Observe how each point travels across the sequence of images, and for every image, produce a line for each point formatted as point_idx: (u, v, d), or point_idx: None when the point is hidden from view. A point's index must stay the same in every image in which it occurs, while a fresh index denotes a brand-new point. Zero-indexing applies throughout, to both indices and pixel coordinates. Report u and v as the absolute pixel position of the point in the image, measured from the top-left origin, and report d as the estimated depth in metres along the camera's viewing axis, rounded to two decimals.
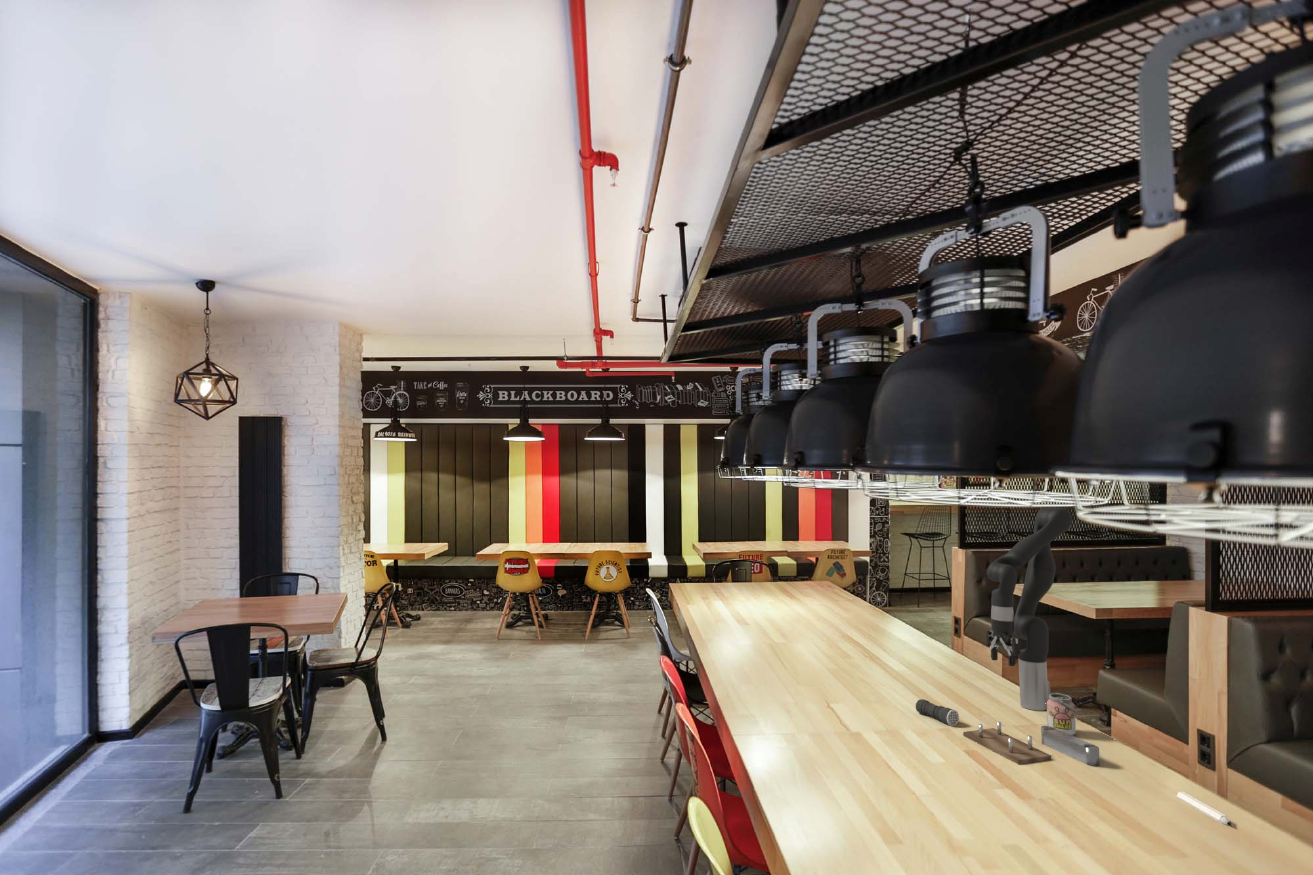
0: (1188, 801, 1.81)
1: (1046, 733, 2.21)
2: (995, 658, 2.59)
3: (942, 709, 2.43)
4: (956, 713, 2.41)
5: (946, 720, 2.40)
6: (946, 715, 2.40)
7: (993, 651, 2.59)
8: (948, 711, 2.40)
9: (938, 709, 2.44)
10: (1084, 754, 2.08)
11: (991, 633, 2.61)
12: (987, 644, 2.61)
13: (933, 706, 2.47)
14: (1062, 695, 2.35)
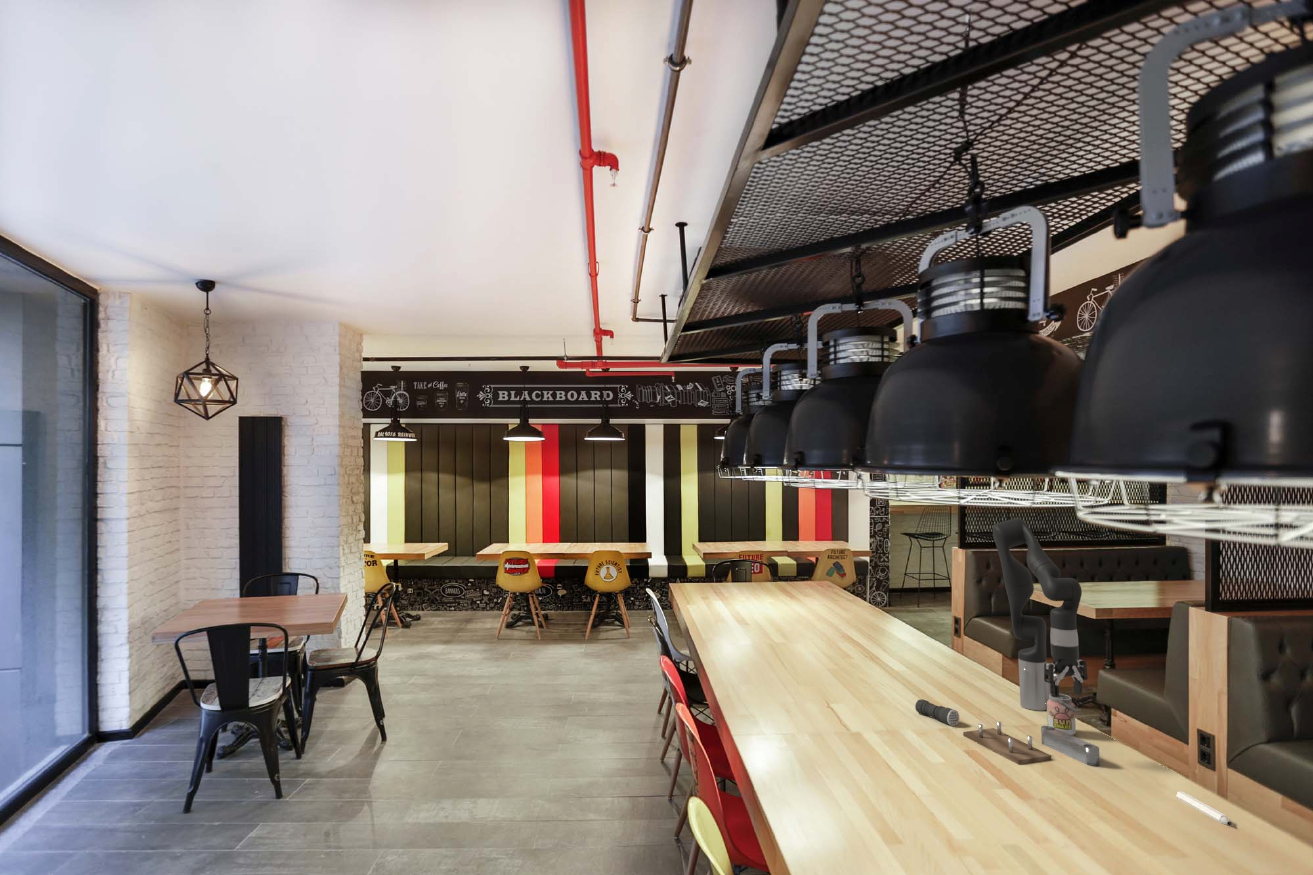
0: (1188, 800, 1.81)
1: (1046, 733, 2.21)
2: None
3: (942, 709, 2.43)
4: (956, 713, 2.41)
5: (947, 720, 2.40)
6: (947, 715, 2.40)
7: None
8: (948, 711, 2.40)
9: (938, 709, 2.44)
10: (1084, 754, 2.08)
11: None
12: (1052, 681, 2.14)
13: (933, 706, 2.47)
14: (1062, 695, 2.35)
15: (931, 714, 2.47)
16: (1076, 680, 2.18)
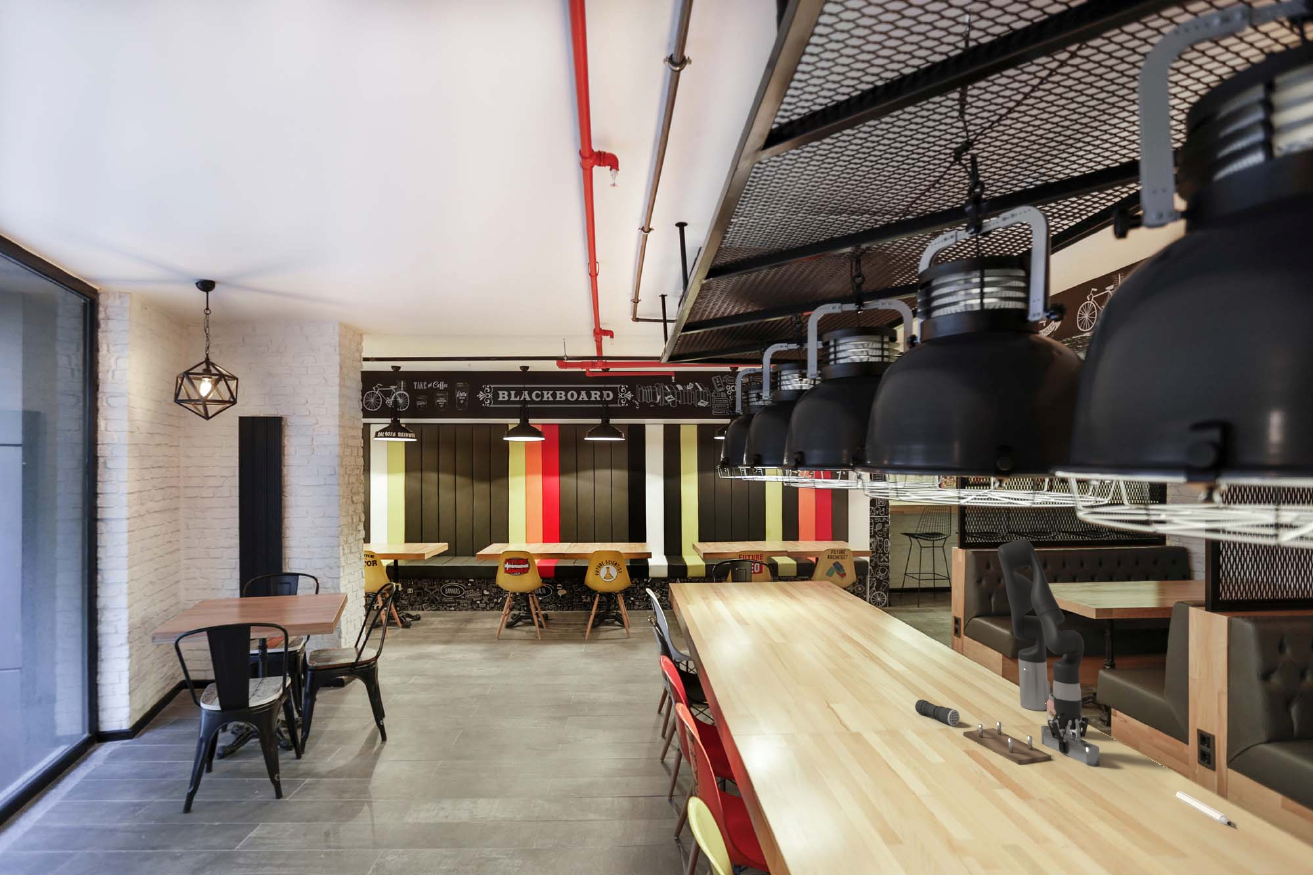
0: (1187, 800, 1.81)
1: (1046, 733, 2.21)
2: None
3: (943, 709, 2.43)
4: (957, 713, 2.41)
5: (947, 720, 2.40)
6: (947, 715, 2.40)
7: None
8: (949, 711, 2.40)
9: (939, 709, 2.44)
10: (1084, 753, 2.08)
11: (1056, 722, 2.14)
12: (1060, 737, 2.13)
13: (933, 706, 2.47)
14: None
15: (931, 714, 2.46)
16: None
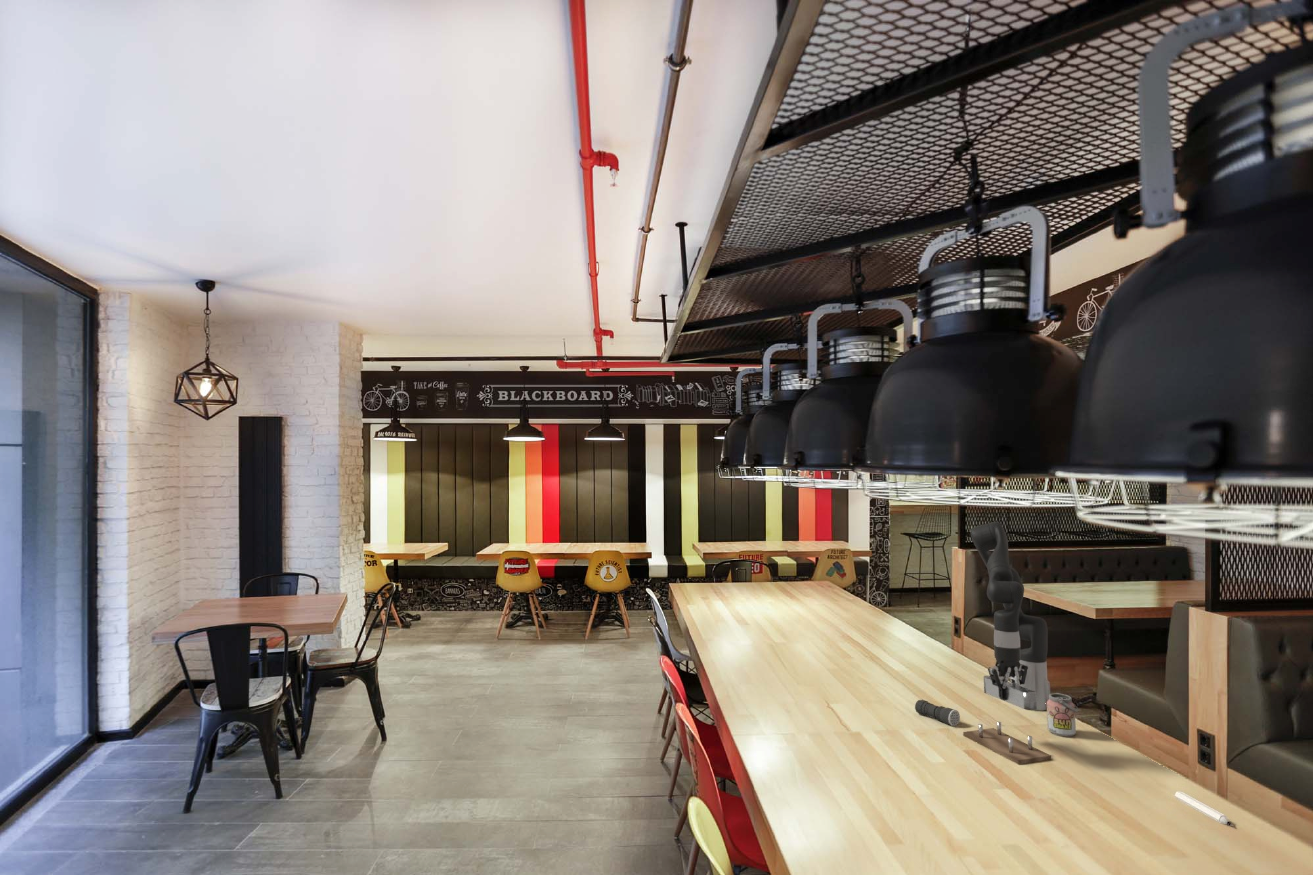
0: (1187, 800, 1.81)
1: (988, 682, 2.27)
2: None
3: (943, 709, 2.43)
4: (957, 713, 2.41)
5: (948, 720, 2.39)
6: (948, 715, 2.40)
7: None
8: (949, 711, 2.40)
9: (939, 709, 2.44)
10: (1022, 698, 2.13)
11: (996, 669, 2.20)
12: (999, 684, 2.19)
13: (933, 706, 2.47)
14: (1062, 695, 2.35)
15: (931, 714, 2.46)
16: None
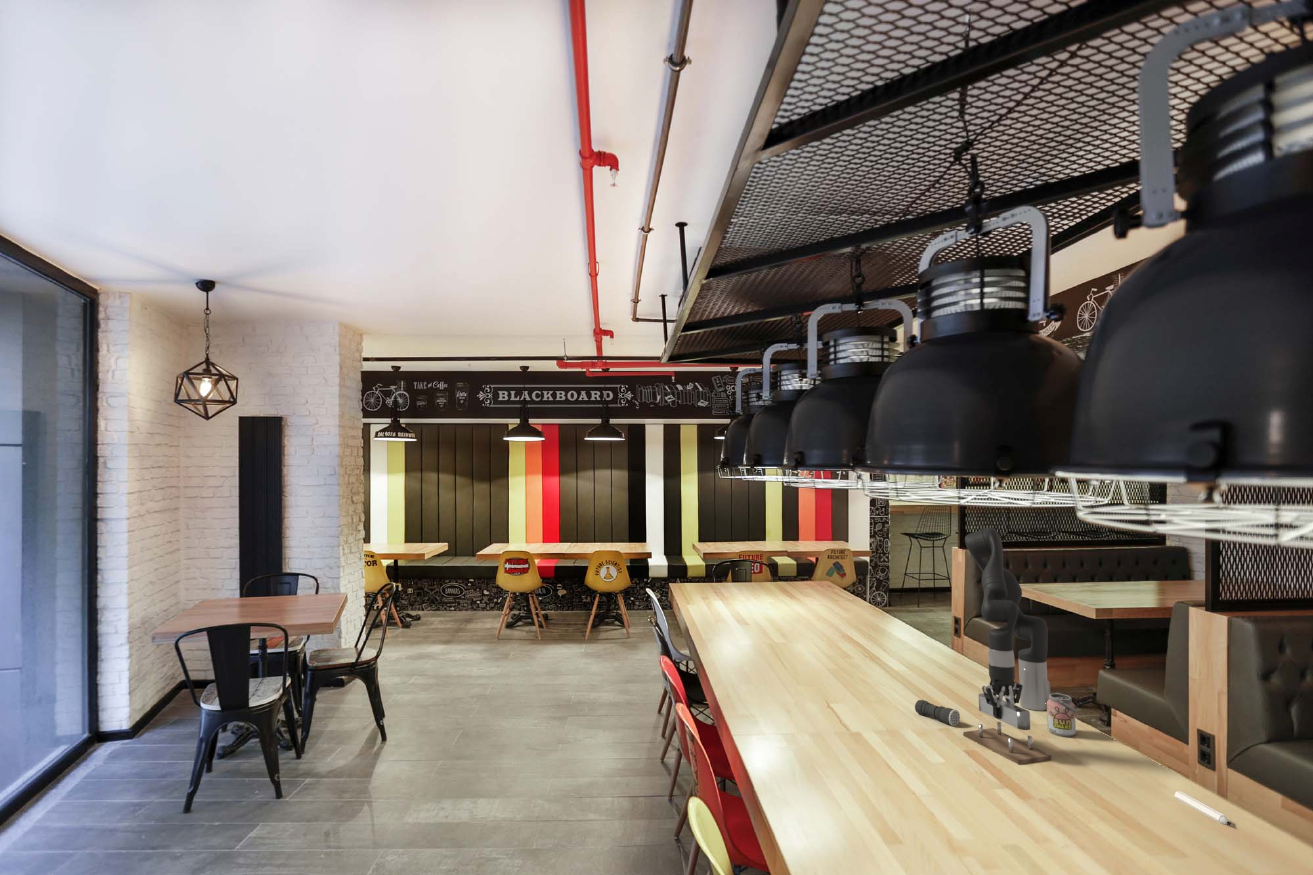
0: (1186, 800, 1.81)
1: (983, 700, 2.28)
2: None
3: (943, 709, 2.43)
4: (957, 713, 2.41)
5: (948, 720, 2.39)
6: (948, 715, 2.40)
7: None
8: (950, 711, 2.40)
9: (939, 709, 2.44)
10: (1016, 718, 2.14)
11: (990, 688, 2.20)
12: (994, 703, 2.19)
13: (933, 706, 2.47)
14: (1062, 695, 2.35)
15: (931, 714, 2.46)
16: None
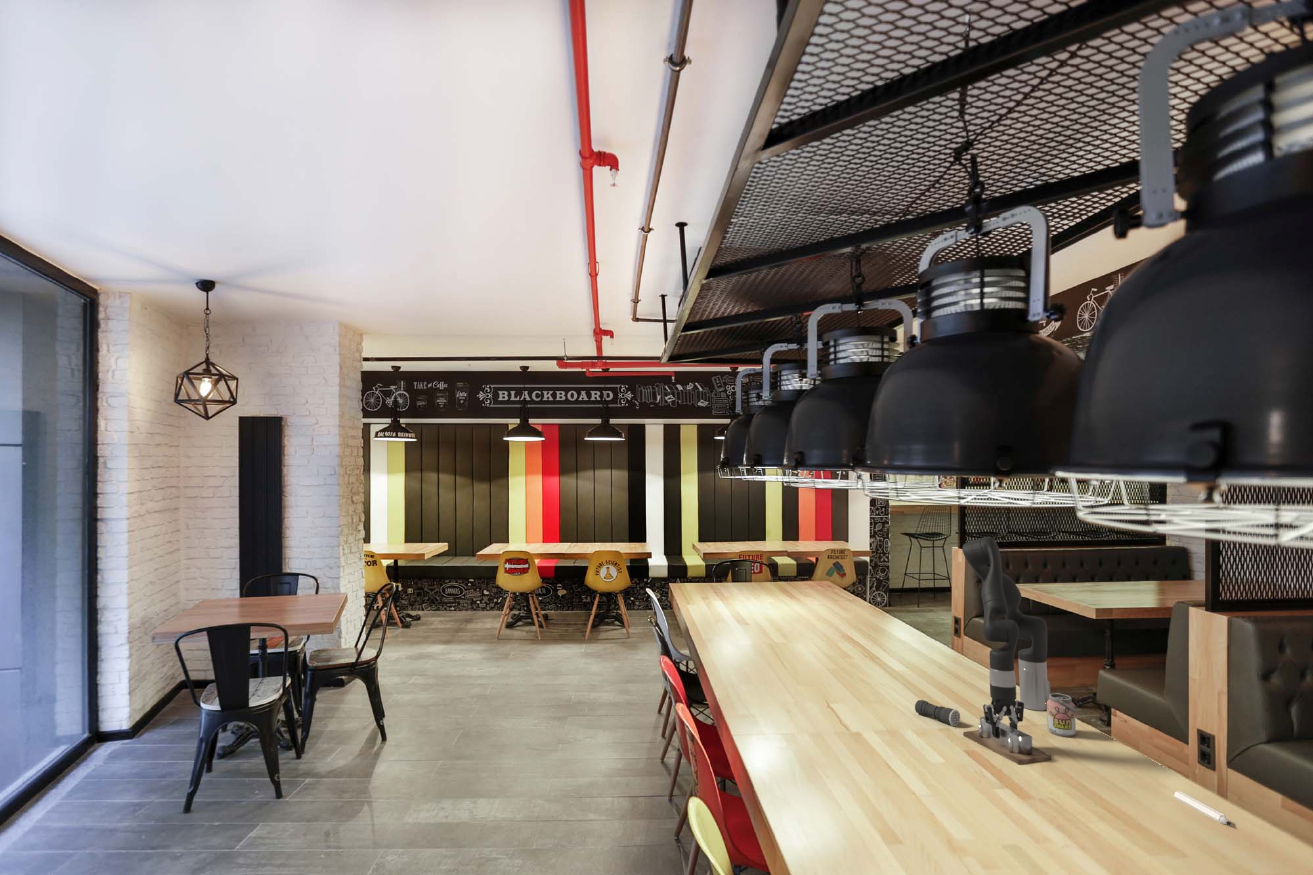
0: (1186, 800, 1.81)
1: (984, 723, 2.27)
2: None
3: (944, 709, 2.43)
4: (957, 713, 2.41)
5: (948, 720, 2.39)
6: (948, 715, 2.40)
7: None
8: (950, 711, 2.40)
9: (939, 709, 2.44)
10: (1017, 743, 2.13)
11: (991, 707, 2.20)
12: (992, 722, 2.19)
13: (933, 707, 2.47)
14: (1062, 695, 2.35)
15: (932, 714, 2.46)
16: (1011, 721, 2.22)
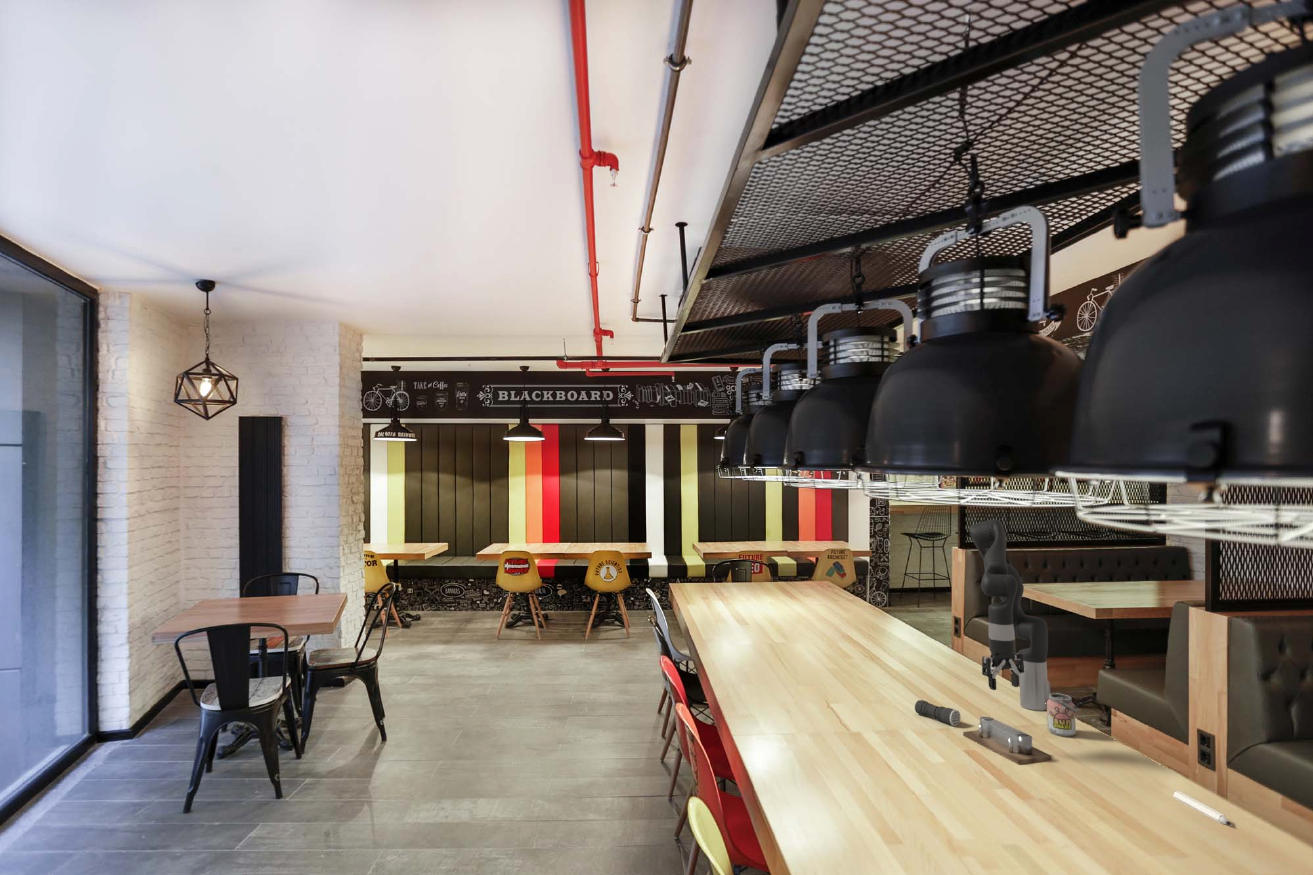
0: (1185, 800, 1.81)
1: (984, 723, 2.27)
2: None
3: (944, 709, 2.42)
4: (958, 713, 2.41)
5: (949, 720, 2.39)
6: (949, 715, 2.40)
7: None
8: (951, 711, 2.40)
9: (940, 710, 2.44)
10: (1017, 743, 2.13)
11: None
12: (989, 674, 2.20)
13: (934, 707, 2.47)
14: (1062, 695, 2.35)
15: (932, 715, 2.46)
16: (1013, 673, 2.24)
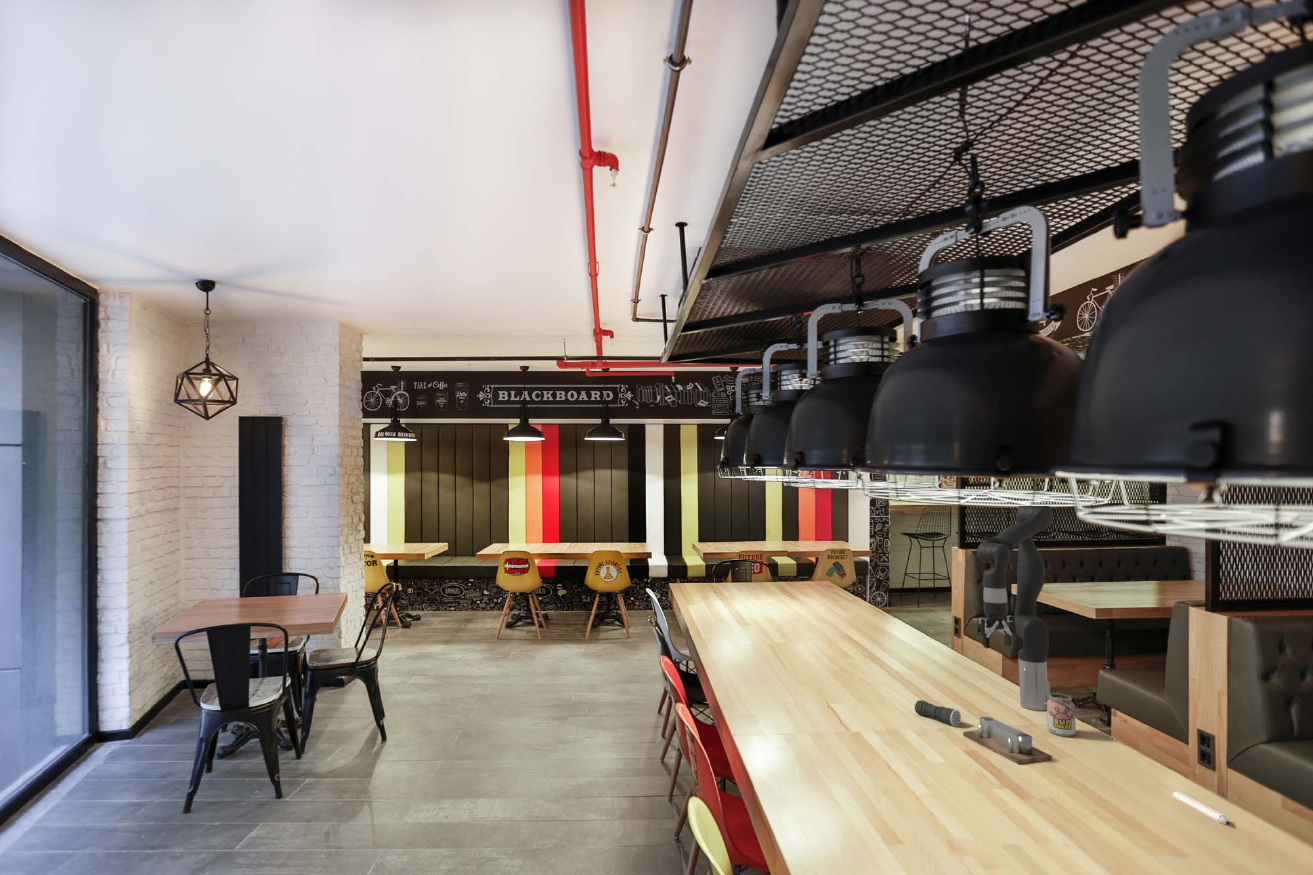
0: (1185, 800, 1.81)
1: (984, 723, 2.27)
2: None
3: (944, 710, 2.42)
4: (958, 713, 2.41)
5: (949, 721, 2.39)
6: (949, 715, 2.39)
7: None
8: (951, 711, 2.40)
9: (940, 710, 2.44)
10: (1017, 743, 2.13)
11: None
12: (983, 633, 2.41)
13: (934, 707, 2.46)
14: (1062, 695, 2.35)
15: (932, 715, 2.46)
16: (1006, 633, 2.45)
